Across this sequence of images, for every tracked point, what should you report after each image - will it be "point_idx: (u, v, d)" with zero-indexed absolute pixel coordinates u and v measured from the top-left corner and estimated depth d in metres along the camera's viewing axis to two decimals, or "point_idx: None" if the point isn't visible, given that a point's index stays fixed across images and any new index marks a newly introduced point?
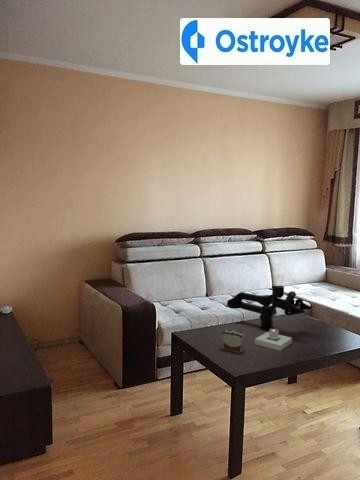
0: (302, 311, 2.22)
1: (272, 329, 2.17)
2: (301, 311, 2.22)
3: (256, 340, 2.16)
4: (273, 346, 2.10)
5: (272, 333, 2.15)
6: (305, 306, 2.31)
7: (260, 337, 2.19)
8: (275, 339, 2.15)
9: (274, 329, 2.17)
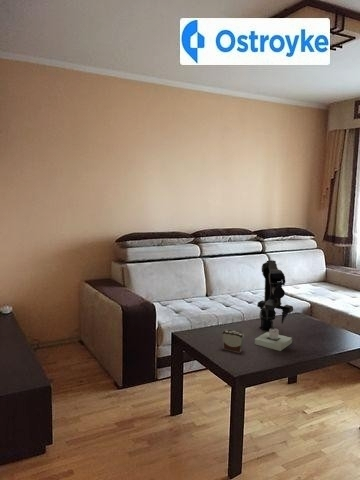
0: None
1: (272, 329, 2.17)
2: None
3: (256, 340, 2.16)
4: (273, 346, 2.10)
5: (272, 333, 2.15)
6: None
7: (260, 337, 2.19)
8: (275, 339, 2.15)
9: (274, 329, 2.17)
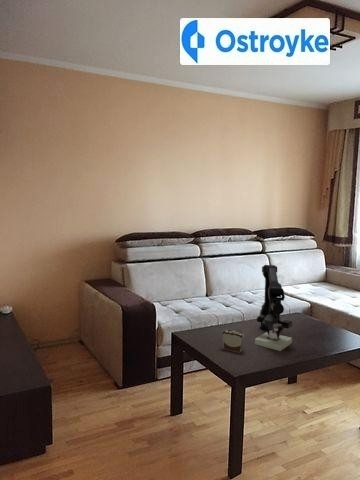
0: None
1: (272, 329, 2.17)
2: None
3: (256, 340, 2.16)
4: (273, 346, 2.10)
5: (272, 333, 2.15)
6: None
7: (260, 337, 2.19)
8: (275, 339, 2.15)
9: (274, 329, 2.17)
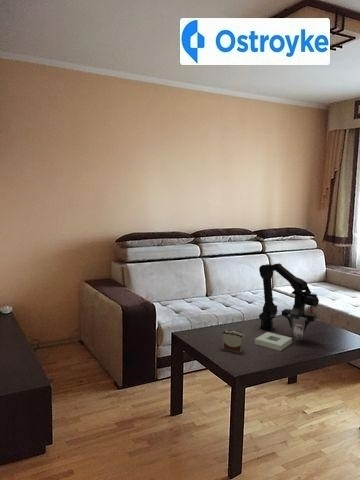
0: None
1: (296, 325, 2.25)
2: None
3: (256, 340, 2.16)
4: (273, 346, 2.10)
5: (297, 329, 2.23)
6: None
7: (260, 337, 2.19)
8: (300, 334, 2.23)
9: (298, 325, 2.25)
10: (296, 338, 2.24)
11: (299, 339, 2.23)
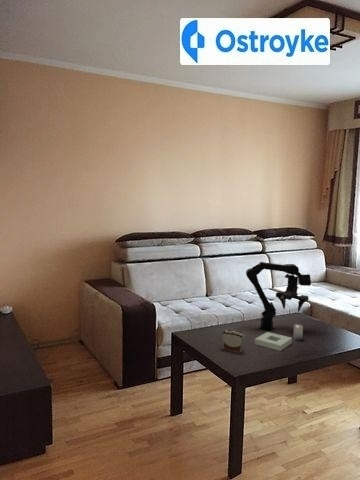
0: None
1: (296, 325, 2.25)
2: None
3: (256, 340, 2.16)
4: (273, 346, 2.10)
5: (297, 329, 2.23)
6: None
7: (260, 337, 2.19)
8: (300, 334, 2.23)
9: (298, 325, 2.25)
10: (296, 338, 2.24)
11: (299, 339, 2.23)
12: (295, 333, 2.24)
